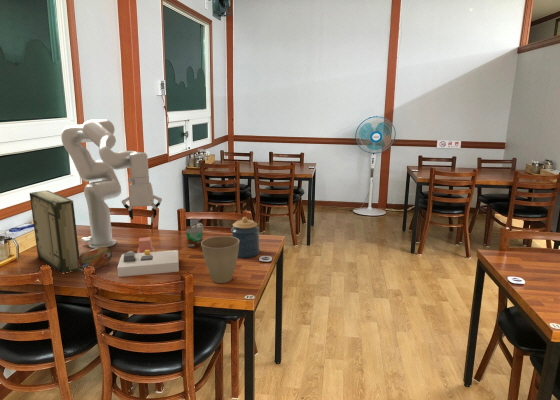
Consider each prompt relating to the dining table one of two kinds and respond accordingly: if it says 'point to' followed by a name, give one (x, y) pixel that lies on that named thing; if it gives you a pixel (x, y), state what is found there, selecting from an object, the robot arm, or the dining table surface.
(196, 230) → the food container
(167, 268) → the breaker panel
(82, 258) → the tin
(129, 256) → the block
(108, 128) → the robot arm
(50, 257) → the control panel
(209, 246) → the plant pot
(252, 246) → the canister
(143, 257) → the tagged breaker button
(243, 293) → the dining table surface
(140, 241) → the cap
